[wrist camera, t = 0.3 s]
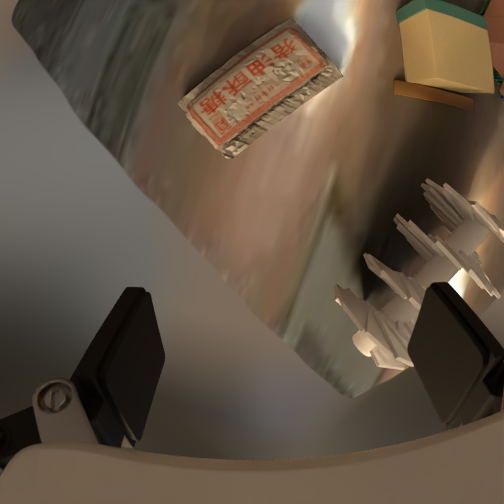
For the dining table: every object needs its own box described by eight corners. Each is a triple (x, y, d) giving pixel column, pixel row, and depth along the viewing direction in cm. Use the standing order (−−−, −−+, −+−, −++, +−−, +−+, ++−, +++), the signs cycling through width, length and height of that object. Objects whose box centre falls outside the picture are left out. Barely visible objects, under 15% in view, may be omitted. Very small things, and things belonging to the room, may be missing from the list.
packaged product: (225, 166, 33) (168, 102, 30) (229, 160, 37) (178, 103, 34) (352, 72, 28) (295, 7, 25) (341, 77, 32) (290, 19, 29)
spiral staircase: (327, 284, 49) (426, 168, 39) (398, 351, 46) (499, 245, 36) (298, 333, 33) (455, 155, 23) (399, 420, 30) (551, 276, 20)
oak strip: (393, 80, 32) (395, 79, 31) (470, 99, 31) (473, 99, 31) (393, 94, 33) (395, 93, 32) (470, 111, 32) (473, 111, 32)
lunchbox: (395, 10, 27) (422, -6, 20) (454, 26, 27) (485, 17, 19) (404, 82, 32) (434, 77, 24) (461, 93, 31) (495, 93, 24)
